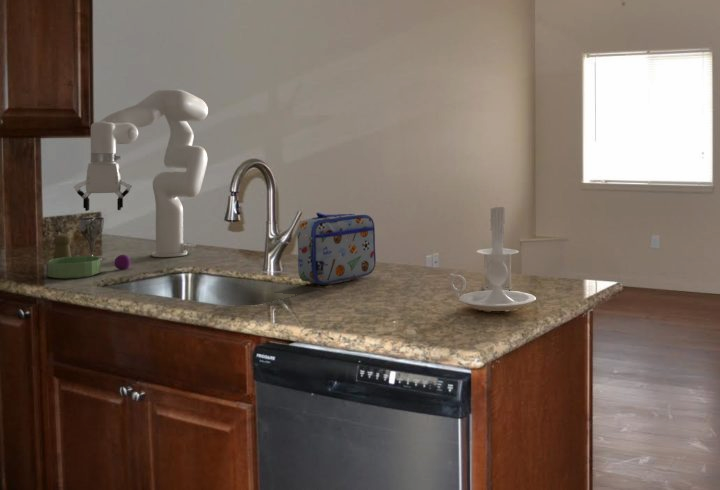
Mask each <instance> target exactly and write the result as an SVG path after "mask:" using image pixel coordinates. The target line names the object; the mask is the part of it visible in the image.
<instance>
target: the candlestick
mask: <svg viewBox="0 0 720 490" xmlns="http://www.w3.org/2000/svg"><path fill="white" fill-rule="evenodd" d="M505 210H506V209H505V207H504V206H497V205H495V207H491V208H490V220H489V221H490V232H491V247H490V248H491V249H488V248H481V249H477V250H475V253H477V254H480V255H483V256H484V255H486V256H488V257H490V258H491V264H490V266H489V268H488V270H487V277H488V279H489V281H490V282H491V283H492V284H493V290H477V291H471V292H466V293H464V294H461V295H460V293H462V292H463V291H464V290H465V289H466V287H467V281H466V278H465V277H464V276H463V275H461V274H454V273H448V276H449V277H451V278H450V282H449V283H450V284H449V285H450V287H451V289H452V290H453V291H454V294H455V297H456V298H457V300H459V302H462V303H465V305H467V306H468V307H470V308H472V309H474V310H477V309H478V310H477V311H481V310H485V311H484V312H487V313H492V312H491V311H505V312H504V313H507V312H508V313H510V311H506V310H514V309H518V310H520V309H519V308H521V309H523V308H525V307H526V306H528V305H530V304H531V303H534V302H535V301H536V300H537V297H536V296H535V295H533V294H531V293H527V292H523V291H517V290H510V291H508V290H502V284H503V283H504V282H505V281H506V279H507V277H508V270H507V267H506V266H505V264H504V259H505V258H506V257H507V256H510V255H511V256H512V255H515V254H518V253H520V251H519V250H517V249H513V248H507V249H503V248H504V229H505V228H504V227H505V226H504V225H505V219H506V218H505V217H506V216H505V215H506V213H505V212H506V211H505ZM456 279H460V280H461V281H462V287H461V288H457V287H455V284H454V282H455V280H456ZM522 307H523V308H522ZM514 311H515V310H514Z"/></svg>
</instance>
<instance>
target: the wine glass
mask: <svg viewBox="0 0 720 490" xmlns="http://www.w3.org/2000/svg"><path fill="white" fill-rule="evenodd" d="M78 221H79V222H78V225H79V231H80V234H81V236H82V237H83V238H84V239H85V240H86V241H87V242H88V244H89V247H90V249H89V250H90V255H89V256H94V247H95V243H96V241H97V240H98V239H99V238H100V236H101V235H102V234H103V232H104V227H105V217H99V216H98V217H97V216H96V217H95V216H94V217H93V216H92V217H82V218H81V217H80V218H79V219H78ZM99 258H100V261H102V260H103V258H102V257H99Z"/></svg>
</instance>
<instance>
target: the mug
mask: <svg viewBox="0 0 720 490" xmlns="http://www.w3.org/2000/svg"><path fill="white" fill-rule="evenodd" d="M491 248H492V247H490V248H489V247H488V248H487V249H491ZM503 249H508V248H507V247H503ZM483 258H484V259H483V261H484V265H483V269H484V270H483V288H482V289H483V291H486V290H493V284H492V283H491V282H490V281H489V279H488V277H487V270H488V268H489V266H490V264H491V258H490V257H488V256H486V255H483ZM504 264H505V266H506V267H507V270H508V277H507V279H506V281H505V282H504V283H503V284H502V288H503V289H502V290H508V291H509V290H510V291H512V289H513V288H512V255H510V256H507V257H506V258H505V259H504ZM509 286H511V287H509ZM486 287H488V288H486ZM505 287H509V288H505Z"/></svg>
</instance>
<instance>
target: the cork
mask: <svg viewBox="0 0 720 490" xmlns="http://www.w3.org/2000/svg"><path fill="white" fill-rule="evenodd" d="M71 242H72V237H71V236H70V235H69V234H59V235H56V236H55V237H54V238H53V244H54V245H55V247H54V254H53V259H56V258H63V257H72V253H71V246H70V245H71Z"/></svg>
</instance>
